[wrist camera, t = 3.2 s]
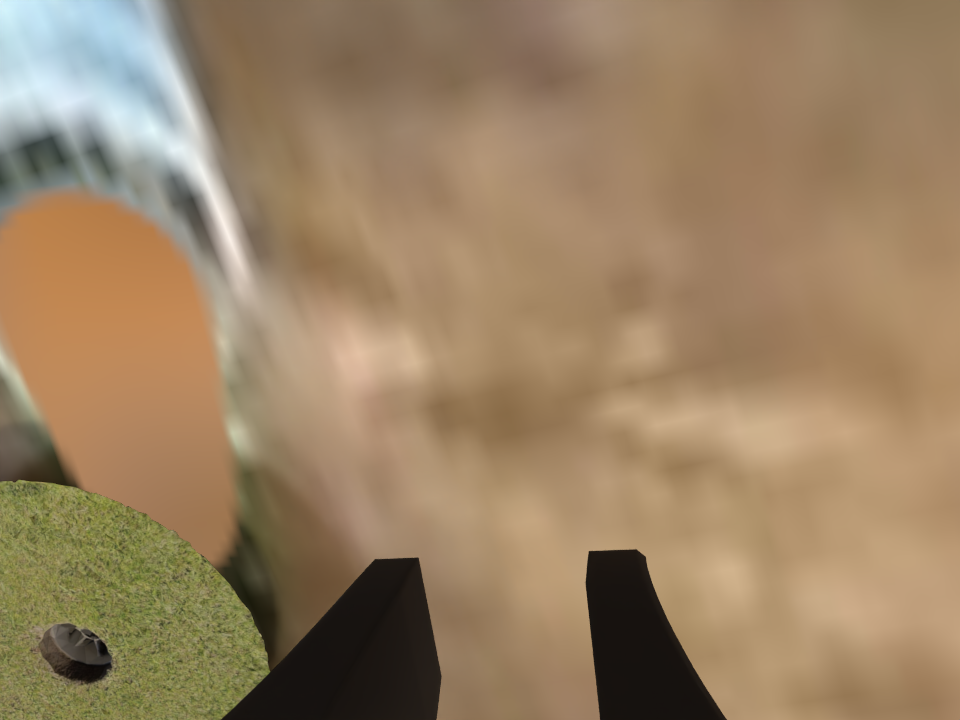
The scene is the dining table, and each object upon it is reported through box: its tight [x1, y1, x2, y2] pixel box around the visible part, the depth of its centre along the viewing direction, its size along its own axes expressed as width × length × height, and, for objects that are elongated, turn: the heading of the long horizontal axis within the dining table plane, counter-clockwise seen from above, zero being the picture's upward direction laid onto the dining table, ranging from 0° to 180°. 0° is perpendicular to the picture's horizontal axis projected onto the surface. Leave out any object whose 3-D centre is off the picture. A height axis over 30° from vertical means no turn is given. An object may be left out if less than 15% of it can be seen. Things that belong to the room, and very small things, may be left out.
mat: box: [0, 480, 270, 720], centre depth 26 cm, size 11×11×2 cm
